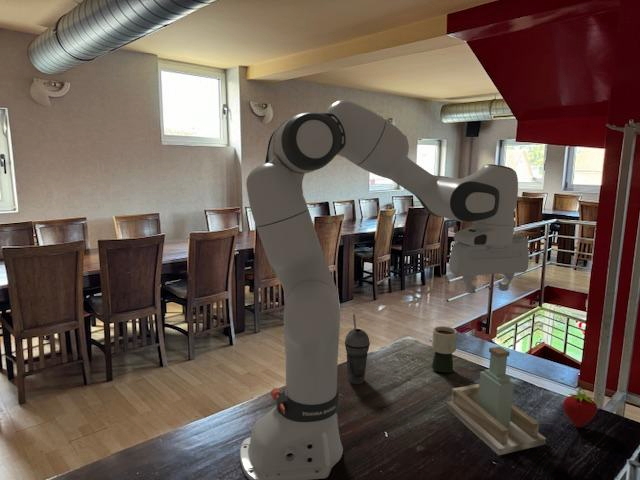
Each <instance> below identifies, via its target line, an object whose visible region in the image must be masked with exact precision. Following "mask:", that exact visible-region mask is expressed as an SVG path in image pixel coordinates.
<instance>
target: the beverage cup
mask: <svg viewBox="0 0 640 480" xmlns="http://www.w3.org/2000/svg"><path fill="white" fill-rule="evenodd" d="M352 317H353V319H352V320H353V327H354V328H353V329H351V330H349V332H348V333H347V334H346V336H345V341H344V346H345V351H346V363H347V364H346V366H347V378H348V379H347V381H348V380H349V383H350V384H354V385H360V384H363V383H364V381H365V376H366V369H367V359H368V352H369V349H370V346H371V343H370V339H369V335H368V334H367V332H366V331H365V330H363V329H362V328H361V329H360V328H357V325H356V315H355V314H353V316H352Z"/></svg>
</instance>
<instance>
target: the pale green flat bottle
mask: <svg viewBox="0 0 640 480" xmlns="http://www.w3.org/2000/svg"><path fill="white" fill-rule="evenodd" d="M488 352H489V353H490V355H489V356H490V358H489V368H487V369H484V370H483V371H480V373H479V381H478V382H479V383H478V384H479V392H478V403H477V404H478V405H479V406H480V407H481V408H482V409H484V410H485V411H486V412H487V413H489V414H490V415H491V416H492V417H494V418H495V419H496V420H497V421H499V422H500V423H501V424H502V425H503V426H510V417H511V407H512V404H513V398H514V397H513V396H514V386H515V383H514V382H513V381H512V380H511V377H510V376H508V374H506V372H507V364H508V363H507V362H508V357H510V353H511V352H510V351H509V350H507V349H505V348H503V347H502V346H495V347H489V348H488Z"/></svg>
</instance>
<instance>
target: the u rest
mask: <svg viewBox="0 0 640 480" xmlns="http://www.w3.org/2000/svg"><path fill="white" fill-rule="evenodd" d="M478 392H479V383H475V384H470V385H464V386H460V387H452V389H451V395H450V398H451V399H450V400H448V401H446V402H445V408H446V409H447V410H448V411H450V412H451V414H453V415H454V416H455V417H456V418H457V419H458V420H459V421H460V422H461V423H463V424H464V425H465V426H466V428H468V429H469V430H470V431H471V432H472V433H473V434H474V435H476V436H477V437H478V438H479V439H480V440H481V441H482V442H483V443H484V444H486V445H487V446H488V447H489V448H490V449H491V450H492V451H493V452H495V454H496V455H497V456H502V455H506V454H510V453H514V452H520V451H523V450H526V449H530V448H531V449H532V448H536V447H541V446H544V445H546V441H547V438H546V437H545V436H544V435H542V434H541V433H540V432H539V427H540V422H538V421H537V420H536V419H534V418H533V417H532V416H530V415H529V414H527V413H526V412H525V411H523V410H522V409H520V408H519V407H517V405H515V404H513V403H512V407H511V417H510V426H503V425H502V424H501V423H500V422H499V421H497V420H496V419H495V418H494V417H492V416H491V415H490V414H489V413H487V412H486V411H485V410H484V409H482V408H481V407H480V406H479V405H478V404H477V403H478Z"/></svg>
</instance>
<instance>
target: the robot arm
mask: <svg viewBox="0 0 640 480" xmlns="http://www.w3.org/2000/svg"><path fill="white" fill-rule="evenodd" d="M409 151H410V146H409V140H408V138H407V136H406V135H405V133H403V132H402V130H400V129H399V128H398V127H397V126H396V125H395V124H393V123H392V122H390V121H388V120H387V119H385V118H384V117H382V116H381V115H379V114H378V113H376V112H374V111H373V110H370V109H369V108H366V107H365V106H362V105H360V104H357V103H356V102H352V101H350V100H346V99H340V100H337V101H335V102H333V103H332V104H331V105H329V107H327V109H326V110H325V111H324V112H301V113H299V114H296V115H294V116H292V117H291V118H289V119H286V120H285V121H283V122H282V123H281V124H280V125H279V126H278V127H276V129H275V130H274V131H273V132H272V134H271V136H270V137H269V140H268V144H267V151H266V156H265V160H264V161H265V162H264V163H263V164H260V165H258V166H256V167H255V168H254V169H252V170H251V171H250V172H249V174H248V175H247V178H246V191H247V198H248V202H249V207H250V211H251V215H252V218H253V221H254V225H255V227H256V230H257V233H258V236H259V238H260V241H261V244H262V247H263V250H264V252H265V256H266V259H267V261H268V264H269V266H271V268H272V269H273V272H274V273H275V274H276V277H277V279H278V281H279V283H280V285H281V287H282V290H283V292H284V297H285V305H284V309H283V334H284V335H283V337H284V351H285V352H284V353H285V388H284V389H283V391H282V392H281V391H280V389H279V388H278V387H273V388H272V389H271V391H270V396H271V397H272V399H273V400H274V401H276V406H275V407H273V408H272V409H271V410H269V411H268V412H267V413H265V414H264V415H263V416H261V417H260V418H259V419H257V420H256V421H255V423H254V424H253V426H252V429H251V434H250V437H247V438H245V439H244V440H243V441H242V442H241V445H240V447H239V448H240V449H239V461H240V466H241V469H242V472H243V474H244V475H245V476H246V477H247V479H248V480H319V479H327V478H328V477H329V475H330V473H331V472H332V468H333V467H334V466H336V464H337V463H338V462H339V461H340V460H341V458H342V457H343V456H342V455H343V452H344V448H343V445H342V441H341V438H340V436H341V435H340V433H339V432H340V431H339V430H340V429H339V425H338V423H339V422H338V415H339V408H340V395H339V394H340V393H339V389H338V358H339V344H340V343H339V341H340V324H341V310H340V303H339V295H338V289H337V287H336V283H335V280H334V278H333V275H332V272H331V270H330V267H329V264H328V261H327V259H326V256H325V253H324V251H323V249H322V246H321V243H320V240H319V237H318V235H317V231H316V229H315V225H314V222H313V219H312V216H311V213H310V210H309V207H308V206H309V205H308V204H307V201H306V198H305V197H304V196H305V195H304V190H303V180H304V177H305V174H309V173H313V172H315V171H318V170H320V169H322V168H324V167H326V166H327V165H328V164H329V163H331V162H332V161H333V159H335V157H336V156H340V157H342V158H345V159H346V160H348V161H350V162H351V163H352V164H354V165H356V166H357V167H359V168H360V169H362V170H365V171H367V172H369V173H371V174H373V175H376V176H378V177H382V178H383V179H384V178H385V179H388V180H391V181H393V182H394V183H395V184H396V185H397V184H398V185H399V186H400V187H401V188H403V189H405V190H406V191H407V192H409V193H410V194H412V195H413V196H414V197H416V198H417V200H418V201H419V202H420V204H421V206H422V207H423V209H424V210H425V211H426V212H427V213H428V214H429V215H432V216H434V217H437V218H445V219H449V220H453V221H457V222H461V223H462V222H463V223H472V222H473V225H471V226H468V227H466V228H463V229H461V230H457V231H455V232H454V235H453V240H454V241H456V242H454V243H453V246H452V247H451V251H450V255H449V256H450V257H449V266H448V268H449V271H450V272H451V273H452V274H453V275H456V276H458V277H462V280H463V282H464V284H465V293H467V294H475V293H476V289H477V286H476V285H474V284H473V282H472V280H474V276H483V275H484V276H487V275H501V274H502V275H503V279H502V280H501V281H500V282H499V283H498V290H499V291H501V292H504V291H505V292H507V291H508V290H509V286H510V284H511V282H512V281H513V279H514V278H515V274H518V273H519V274H520V273H526V272H527V270H528V268H529V265H530V264H529V263H530V262H529V260H530V255H529V254H530V251H529V239H528V237H527V236H526V235H525V234H522V233H519V234H515V233H514V232H515V224H516V223H515V215H514V214H515V210H516V208H517V205H518V204H517V203H518V195H519V180H518V179H519V178H518V173H517V171H516V170H514V169H513V168H511V167H509V166H505V165H501V164H499V165H498V164H494V163H493V164H490V163H489V164H488V163H487V164H484V165H482V167H481V168H480V169H478V170H477V171H475V172H474V173H471V174H470V175H467V176H464V177H463V178H459V177H458V178H455V177H449V176H444V175H434V174H432V173H431V172H429V171H427V170H426V169H424V168H423V167H422V166H420V165H419V164H417V163H416V162H414V161H413V160H412V159H411V158H409V156H408V155H409Z"/></svg>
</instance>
